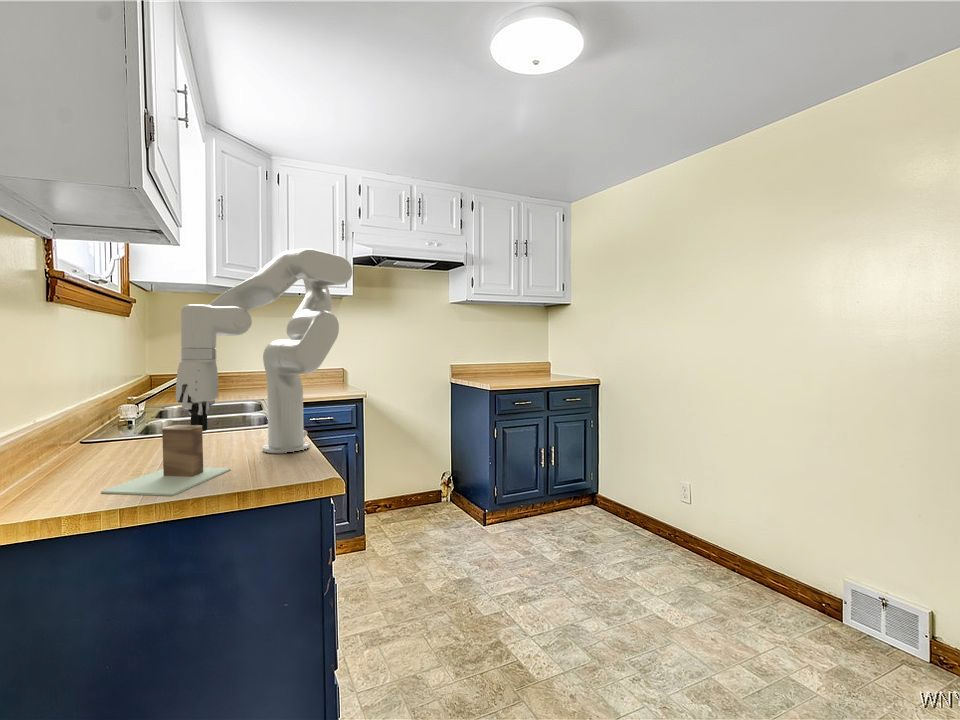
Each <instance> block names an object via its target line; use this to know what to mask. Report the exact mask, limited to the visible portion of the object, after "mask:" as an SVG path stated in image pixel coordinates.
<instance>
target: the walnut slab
mask: <svg viewBox="0 0 960 720" xmlns="http://www.w3.org/2000/svg"><path fill="white" fill-rule="evenodd" d="M161 434H162V435H161V436H162V465H163V468H162V469H163V474H164V476H182V477H193V476H195V475H198V474H200V473H203V468H204V451H203V450H204V449H203V448H204V447H203V443H204V442H203V431H202V425H191V424H173V425H168V426H164V427H162V428H161Z"/></svg>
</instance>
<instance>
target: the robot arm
mask: <svg viewBox="0 0 960 720" xmlns="http://www.w3.org/2000/svg"><path fill="white" fill-rule="evenodd" d="M352 277H353V267H352V264H351V263H350V261H349V260H348V259H347V258H345V257H344V256H342V255H338V254H335V253H330V252H326V251H323V250H318V249H314V248H308V247H306V248H297V249H289V250H285V251H282V252H280V253H279V254H278V255H277V256H275V257H274V258H273V259H272V260H270V261H269V262H267V264H266V265H264V266H263V268H261V269H260V270H259V271H258V272H256V273H255V274H254V275H253V276H251V277H249V278H248V279H246V280H244V281H242V282H241V283H239V284H237V285H235V286H233V287H232V288H230V289H227V290H226V291H224V292H223V293H221V294H219V295H218V296H217V297H216V298H214V299H213V300H212V301H211V302H209V303H208V304H197V303H196V304H195V303H194V304H191V303H190V304H185V305H183V306H182V308H181V311H180V361H179V363H178V367H177V373H176V381H175V402H177V403H179V404H181V409H184V410H187V411H188V414H189V415H190V425H202V432H205V431H207V430H208V414H209V413H210V408H211V406H213V405H215V404H216V402H215V401H216V400H217V399H218V397H219V373H218V366H217V337H218V336H226V337H229V336H230V337H231V336H233V337H237V336H241V335H243V334H245V333H247V332H248V331H249V330H250V328H251V326H252V325H253V320H252V316H251V315H250V313H249V312H248V311H250V310H253V309H256V308H260V307H263V306H264V307H265V306H266V305H268V304H271V303H274V302H275V301H277V300H278V299H279V298H280V297H281V296H282V295H283V294H284V293H285V292H286V291H288V290H289V289H290V288H291V287H292V286H293V285H294V284H295V283H296V282H298V281H299V280H300V281H301V280H303V281H302V282H303V284H304V289H305V296H304V298H303V299H302V301H301V303H300V304H299V306H298V307H297V308H296V310H295V312H294V313H293V314H292V316H291V317H290V319H289V321H288V323H287V325H286V334H287V336H288V339H287V338H286V339H276V340H273V341H271V342H270V343H268V344H267V345H265V346H266V347H265V348H264V351H263V354H262V362H263V367H264V371H265V375H266V385H267V439H268V443H266V444H264V445H263V446H262V452H264V453H266V452H267V454H288V453H287V452H293V453H295V452H294V451H299V450H303V449H306V450H308V449H309V448H310V443H309V442H308V441H304V439H305V437H307V436H308V431H307V430H306V429H304V389H303V383H302V379H301V376H300V374H301V375H302V374H304V375H305V374H307V375H308V374H312V373H314V372H315V371H317V370H318V369H319V368H320V367H321V365H322V363H323V362H324V361H325V359H326V357H327V356H328V354H329V353H330V351H331V349H332V347H333V346H334V344H335V342H336V340H337V338H338V336H339V333H340V332H339V331H340V325H339V324H340V323H339V321H338V318H337V316H336V315H335V314H334V313H332V312H331V310H332V308H333V300H332V297H331V293H330V290H329V287H330V286H341V285H346V284H347V283H348V282H349V281H350V280H351V278H352ZM307 448H308V449H307ZM303 451H304V450H303ZM299 452H300V451H299Z"/></svg>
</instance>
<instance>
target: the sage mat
mask: <svg viewBox="0 0 960 720" xmlns="http://www.w3.org/2000/svg"><path fill="white" fill-rule="evenodd" d="M229 471H232V469H231V467H230V468H226V467H203V473H200V474H198V475H195V476H193V477H182V476H164V474H163V468H162V469H161V468H160V469H159V470H156V471H154V472H151V473H147V474H146V475H145V474H144V475H142V476H140V477H136V478H133V479H131V480H128V481H125V482H123V483H120V484H117V485H115V486H114V485H113V486H111V487H109V488H106V489H104V490H101V491H100V493H101V494H108V495H110V494H112V495H113V494H115V495H117V494H118V495H138V496H139V495H145V496H170V497H173V496H175V495H178V494H180V493H182V492H185V491H187V490H189V489H191V488H193V487H196V486H198V485H200V484H203V483H205V482H208V481H209V480H212V479H215V478H216V477H218V476H221V475H222V474H225V473H227V472H229Z"/></svg>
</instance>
